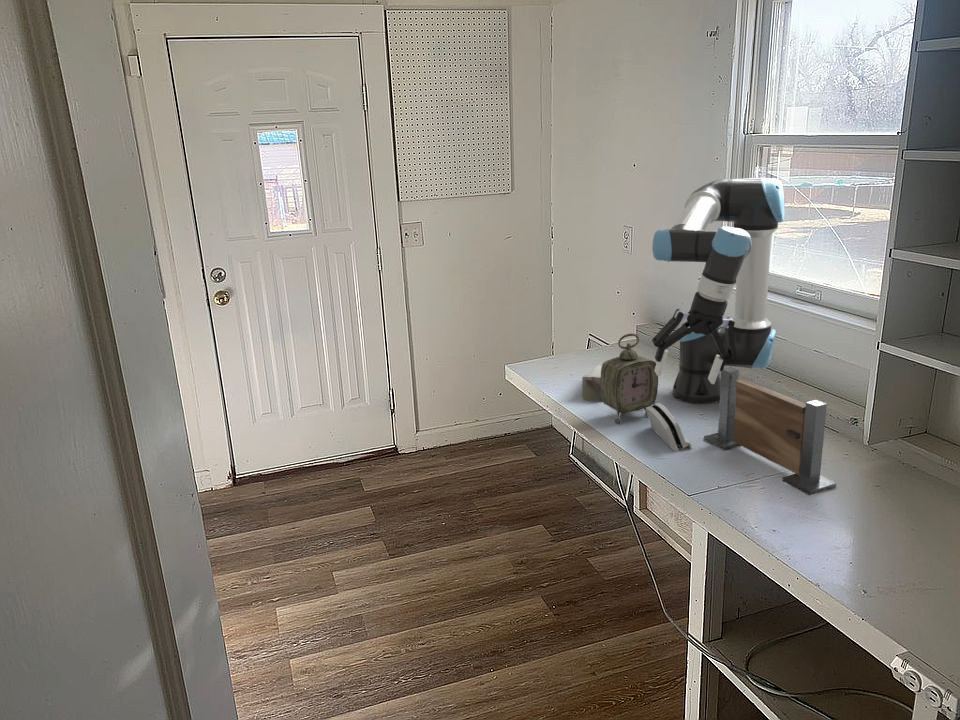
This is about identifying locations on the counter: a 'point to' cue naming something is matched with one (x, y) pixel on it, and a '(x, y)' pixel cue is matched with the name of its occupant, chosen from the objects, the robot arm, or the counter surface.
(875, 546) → the counter surface
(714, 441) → the gate frame
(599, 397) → the block
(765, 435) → the gate leaf
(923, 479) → the counter surface
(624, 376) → the tabletop clock
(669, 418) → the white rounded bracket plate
